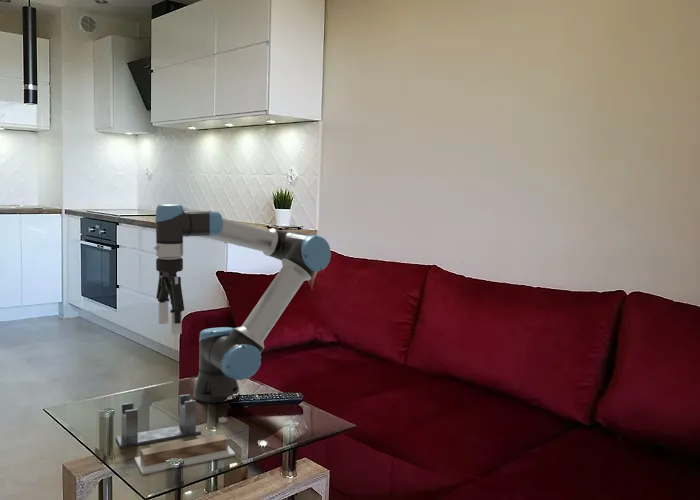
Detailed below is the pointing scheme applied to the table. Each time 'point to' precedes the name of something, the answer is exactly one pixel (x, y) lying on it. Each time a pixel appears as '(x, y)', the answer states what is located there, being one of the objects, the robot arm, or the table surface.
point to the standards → (134, 438)
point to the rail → (183, 449)
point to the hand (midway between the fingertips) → (169, 328)
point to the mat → (187, 460)
